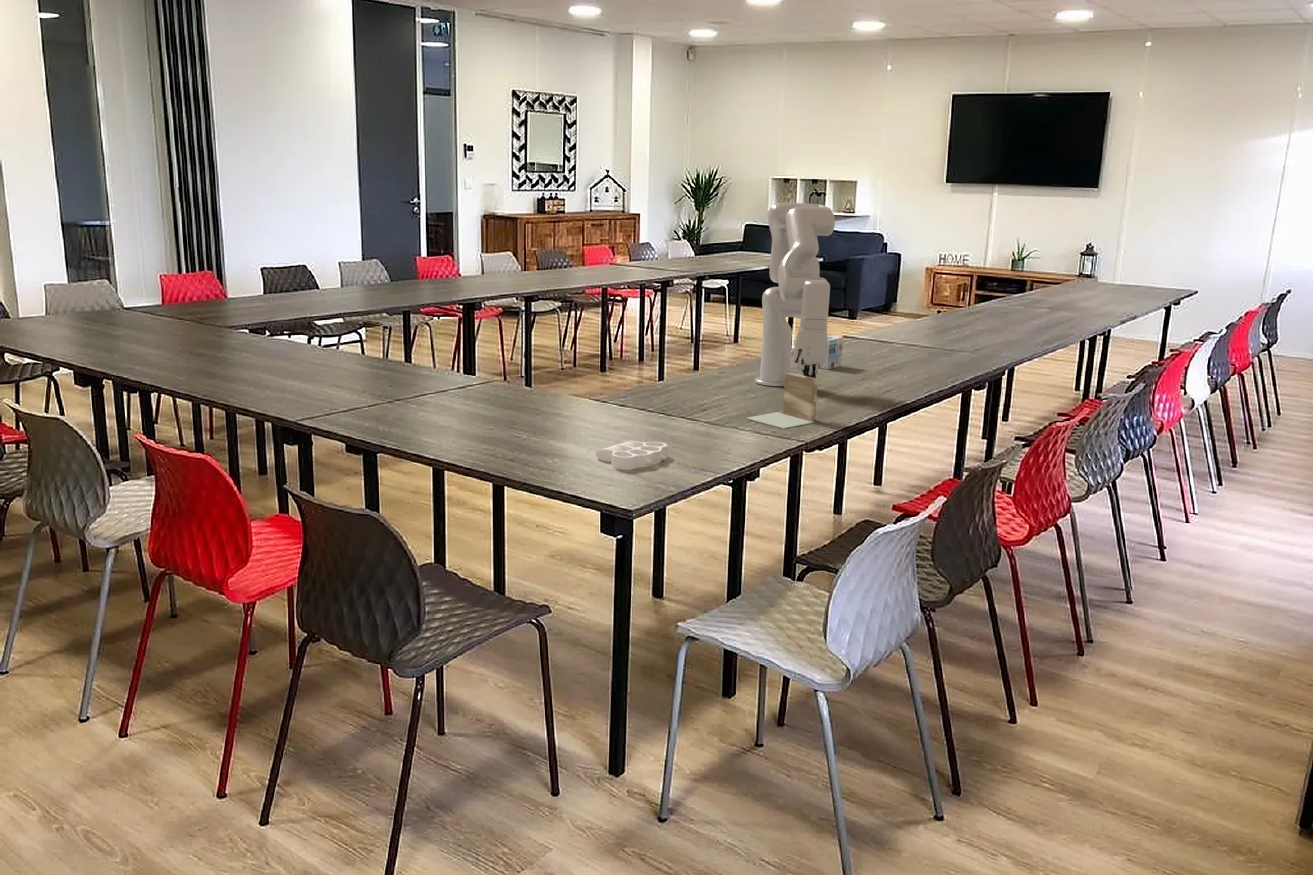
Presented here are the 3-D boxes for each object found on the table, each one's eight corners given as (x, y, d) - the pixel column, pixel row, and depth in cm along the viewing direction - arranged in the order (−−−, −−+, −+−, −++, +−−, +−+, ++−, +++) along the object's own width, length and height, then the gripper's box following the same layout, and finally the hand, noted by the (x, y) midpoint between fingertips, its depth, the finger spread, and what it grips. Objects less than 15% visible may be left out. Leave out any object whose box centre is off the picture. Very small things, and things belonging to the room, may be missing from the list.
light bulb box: (827, 369, 378) (829, 340, 376) (810, 367, 382) (813, 337, 379) (841, 366, 387) (844, 336, 384) (825, 363, 390) (827, 334, 388)
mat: (776, 413, 308) (776, 412, 308) (813, 422, 298) (813, 421, 298) (745, 418, 299) (745, 417, 299) (783, 429, 289) (783, 428, 289)
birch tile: (788, 412, 308) (790, 372, 305) (815, 419, 301) (817, 378, 298) (783, 414, 307) (784, 373, 304) (810, 421, 300) (812, 379, 296)
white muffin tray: (632, 449, 265) (681, 460, 257) (587, 463, 251) (636, 475, 242) (633, 436, 264) (681, 446, 256) (587, 449, 250) (637, 461, 242)
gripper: (819, 320, 307) (814, 382, 312) (786, 324, 297) (781, 388, 302) (840, 324, 302) (835, 387, 307) (807, 328, 292) (802, 393, 297)
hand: (808, 387), depth 304 cm, fingers closed
